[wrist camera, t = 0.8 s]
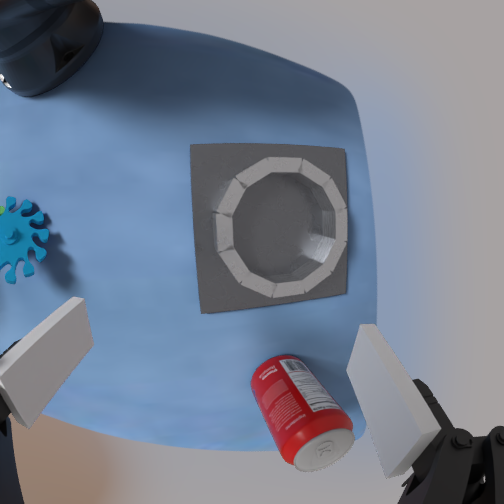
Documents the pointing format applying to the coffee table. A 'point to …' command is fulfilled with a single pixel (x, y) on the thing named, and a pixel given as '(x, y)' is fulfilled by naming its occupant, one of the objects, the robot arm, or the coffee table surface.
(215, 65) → the coffee table surface
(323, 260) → the housing
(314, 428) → the soda can
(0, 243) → the blue spiky toy
